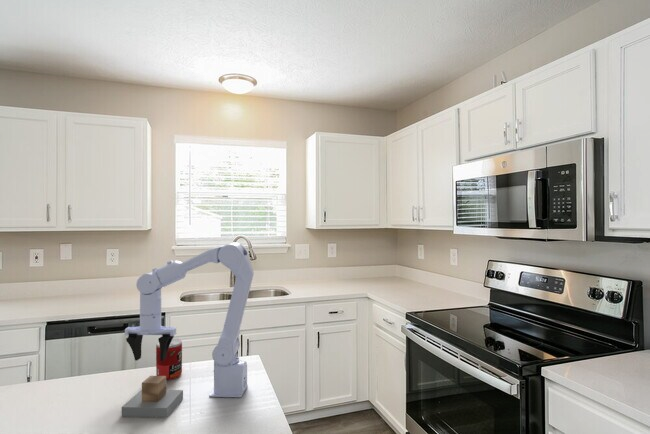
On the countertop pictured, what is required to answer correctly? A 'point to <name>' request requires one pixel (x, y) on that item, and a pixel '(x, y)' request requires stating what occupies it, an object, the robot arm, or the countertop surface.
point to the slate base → (152, 405)
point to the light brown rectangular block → (153, 388)
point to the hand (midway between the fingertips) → (150, 359)
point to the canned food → (170, 360)
